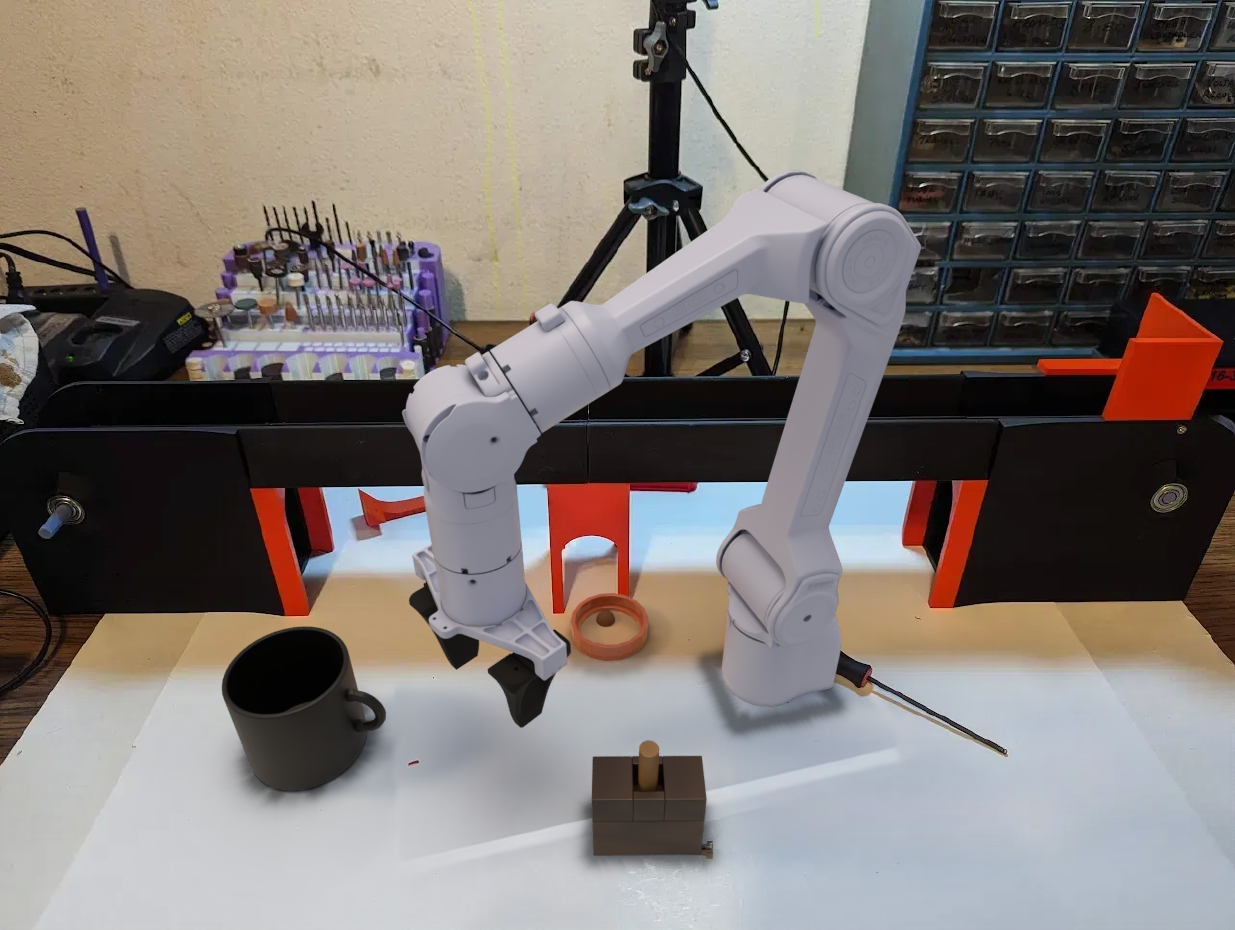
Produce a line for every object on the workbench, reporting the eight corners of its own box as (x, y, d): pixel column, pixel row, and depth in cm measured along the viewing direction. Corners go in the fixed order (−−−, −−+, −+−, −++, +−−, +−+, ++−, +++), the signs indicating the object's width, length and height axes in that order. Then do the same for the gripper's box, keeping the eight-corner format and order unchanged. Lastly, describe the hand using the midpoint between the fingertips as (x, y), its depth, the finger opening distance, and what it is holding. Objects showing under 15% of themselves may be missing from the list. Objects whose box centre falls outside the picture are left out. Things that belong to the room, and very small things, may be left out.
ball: (612, 618, 80) (612, 605, 79) (616, 631, 78) (616, 617, 77) (594, 621, 79) (594, 608, 78) (598, 634, 78) (598, 621, 77)
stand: (696, 810, 63) (702, 755, 59) (701, 855, 60) (706, 799, 56) (594, 811, 63) (592, 756, 59) (593, 855, 60) (591, 800, 56)
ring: (635, 609, 81) (636, 587, 80) (656, 662, 75) (657, 639, 74) (565, 622, 80) (564, 599, 78) (581, 677, 74) (580, 654, 72)
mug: (374, 801, 63) (353, 726, 58) (228, 787, 64) (196, 712, 59) (412, 706, 71) (396, 632, 66) (281, 694, 72) (257, 621, 67)
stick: (654, 788, 60) (655, 738, 56) (659, 804, 58) (661, 754, 55) (635, 792, 59) (636, 742, 56) (640, 809, 58) (642, 759, 55)
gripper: (364, 524, 54) (395, 665, 62) (498, 634, 46) (515, 782, 53) (450, 481, 58) (469, 618, 66) (588, 575, 50) (592, 720, 57)
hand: (495, 688), depth 60 cm, fingers open, 7 cm apart
